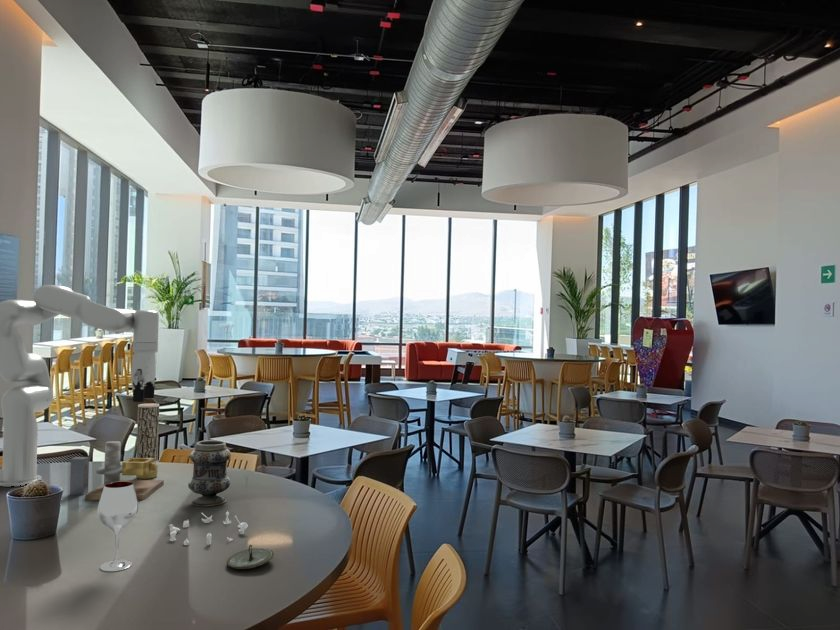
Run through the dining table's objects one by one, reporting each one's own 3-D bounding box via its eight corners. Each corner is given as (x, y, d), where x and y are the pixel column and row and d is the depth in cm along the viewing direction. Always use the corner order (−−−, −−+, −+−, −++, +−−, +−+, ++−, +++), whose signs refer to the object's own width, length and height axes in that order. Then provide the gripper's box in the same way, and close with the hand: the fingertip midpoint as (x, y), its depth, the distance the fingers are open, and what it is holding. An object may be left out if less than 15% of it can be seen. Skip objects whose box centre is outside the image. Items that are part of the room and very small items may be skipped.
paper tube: (135, 475, 220) (137, 403, 220) (156, 474, 223) (158, 403, 223) (136, 480, 214) (138, 406, 214) (157, 478, 217) (159, 405, 217)
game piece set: (261, 527, 170) (261, 512, 170) (218, 552, 151) (218, 536, 151) (198, 519, 175) (198, 505, 175) (149, 543, 156) (149, 527, 156)
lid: (279, 573, 142) (284, 550, 143) (240, 573, 135) (246, 549, 137) (255, 562, 150) (259, 540, 151) (217, 561, 143) (222, 538, 144)
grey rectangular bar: (69, 494, 195) (70, 459, 195) (74, 492, 198) (75, 456, 198) (83, 494, 195) (84, 459, 195) (88, 492, 198) (89, 456, 199)
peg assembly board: (83, 499, 190) (85, 448, 190) (109, 484, 208) (110, 437, 208) (144, 500, 191) (145, 448, 191) (164, 484, 209) (165, 437, 209)
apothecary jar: (236, 497, 196) (237, 439, 196) (220, 509, 184) (221, 446, 184) (198, 495, 197) (200, 437, 197) (180, 506, 185) (182, 445, 185)
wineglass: (125, 556, 146) (128, 478, 146) (143, 565, 141) (145, 484, 141) (89, 566, 140) (91, 484, 140) (106, 576, 134) (108, 491, 135)
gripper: (142, 346, 216) (141, 396, 216) (123, 348, 199) (121, 403, 199) (165, 347, 217) (164, 397, 217) (148, 349, 200) (146, 403, 200)
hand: (143, 399), depth 208 cm, fingers open, 9 cm apart
